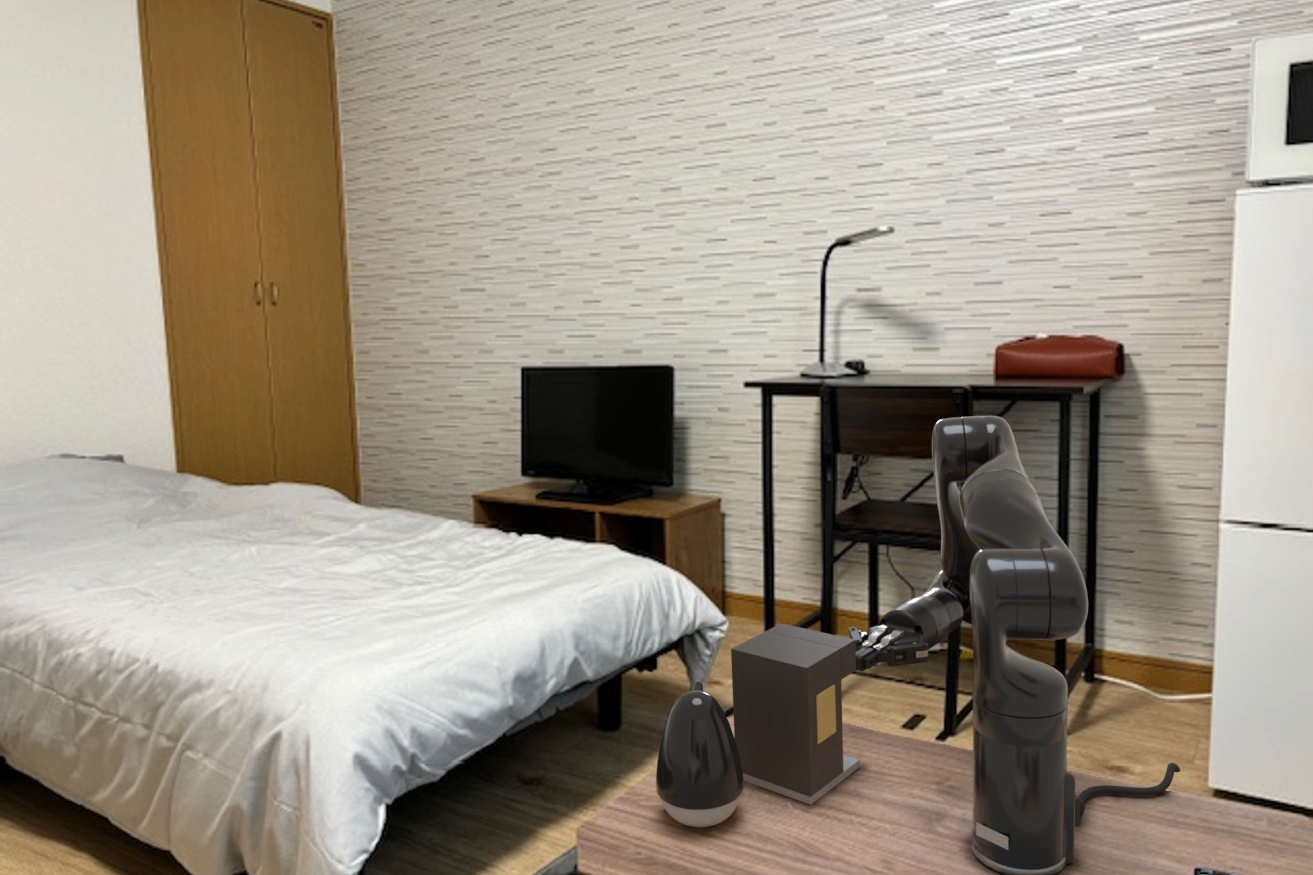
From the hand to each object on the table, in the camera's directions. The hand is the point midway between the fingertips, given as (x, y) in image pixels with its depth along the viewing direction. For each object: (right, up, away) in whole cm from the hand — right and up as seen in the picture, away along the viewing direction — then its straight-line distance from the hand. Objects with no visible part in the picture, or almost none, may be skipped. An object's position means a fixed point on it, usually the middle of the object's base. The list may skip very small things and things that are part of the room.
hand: (856, 663), depth 134 cm
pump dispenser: (-22, -14, -18) cm, 32 cm away
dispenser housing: (-9, -11, -10) cm, 18 cm away
